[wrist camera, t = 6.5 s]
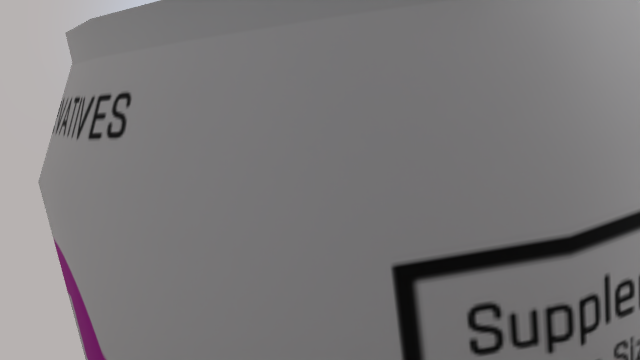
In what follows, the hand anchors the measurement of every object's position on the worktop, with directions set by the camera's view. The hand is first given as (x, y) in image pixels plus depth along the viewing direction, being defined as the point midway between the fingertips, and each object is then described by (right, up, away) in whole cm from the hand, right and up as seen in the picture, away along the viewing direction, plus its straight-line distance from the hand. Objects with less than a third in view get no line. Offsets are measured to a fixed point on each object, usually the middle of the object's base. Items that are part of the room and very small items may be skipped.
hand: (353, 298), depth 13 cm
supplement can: (+2, -9, -3) cm, 10 cm away
